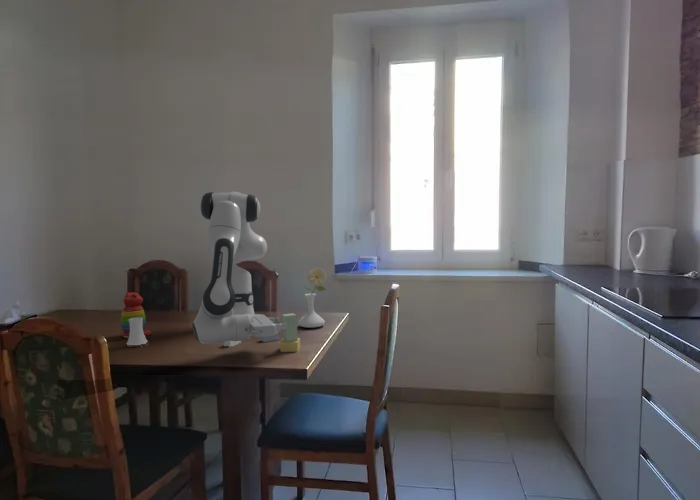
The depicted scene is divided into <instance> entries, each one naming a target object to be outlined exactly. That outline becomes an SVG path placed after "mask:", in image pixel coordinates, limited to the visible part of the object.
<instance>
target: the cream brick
mask: <svg viewBox="0 0 700 500" xmlns="http://www.w3.org/2000/svg"><path fill="white" fill-rule="evenodd" d="M239 343H240V344H241V343H242V341H226V342H223V346H224V347H226V346H228V347H227V348H232V347H234V346H238V345H239ZM231 346H232V347H231Z"/></svg>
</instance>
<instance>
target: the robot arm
mask: <svg viewBox="0 0 700 500" xmlns="http://www.w3.org/2000/svg"><path fill="white" fill-rule="evenodd" d="M199 209H200V212H201V215H202V216H203V218H205V219H206V220H209V225H208V230H207V243H206V246H205V251H206V255H207V257H208V258H209V259H210V260H211V261H212V270H211V279H210V283H208V286H207V287H206V289H205V290H204V292H203V296H202V300H201V304H200V307H199V310H198V313H197V315H196V317H195V318H194V320H193V321H192V324H191V325H192V331H193V335H194V338H195V340H196V341H197V342H198V343H199V344H203V345H216V344H224V342H226V341H241V342H243V341H246V340H247V341H248V340H249V341H250V338H251V337H255V338H259V337H260V338H261V337H263V336H273V335H276V331H277V332H279V331H281V330H283V329H286V328H287V324H286V323H282V321H281V320H282V319H281V318H280V317H267V316H266V315H265V314H263V313H262V314H258V313H255V310H254V292H253V290H252V288H253V287H252V274H251V273H250V272H249V271H248V270H246V268H243V267H241V266H238V265H237V262H238V261H254V260H259V259H263V258H264V257H265V256H266V253H267V251H268V243H267V241H266V239H265V238H264V237H263V236H262V235H259V234H257V233H256V232H254V231H253V229H252V228H251V225H250V223H252V222H253V223H254V222H255V221H256V220H258V219H259V218H258V217H259V216H260V213H261V203H260V200H259V198H258V197H257V196H255V195H252V194H245V193H242V192H239V191H228V192H214V191H211V192H205V194H203V196H202V197H201V200H200V205H199Z"/></svg>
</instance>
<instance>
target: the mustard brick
mask: <svg viewBox="0 0 700 500" xmlns="http://www.w3.org/2000/svg"><path fill="white" fill-rule="evenodd" d="M279 348H280V352H281V353H289V352H290V353H291V352H293V353H295V352H299V350H300V348H301V338H300V337H298V340H297V341H290V342H286V341H285V340H283V338H282V339H281V341H280V343H279Z"/></svg>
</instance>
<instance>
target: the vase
mask: <svg viewBox="0 0 700 500" xmlns="http://www.w3.org/2000/svg"><path fill="white" fill-rule="evenodd" d="M142 321H143V318H131V319H129V324H130V334H129V338H127V342H126V343H125V344H127V345H141V344H146V343H147V342H148V343H149V340H147V337H146V336H145V335H144V332H143V326H142Z"/></svg>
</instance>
